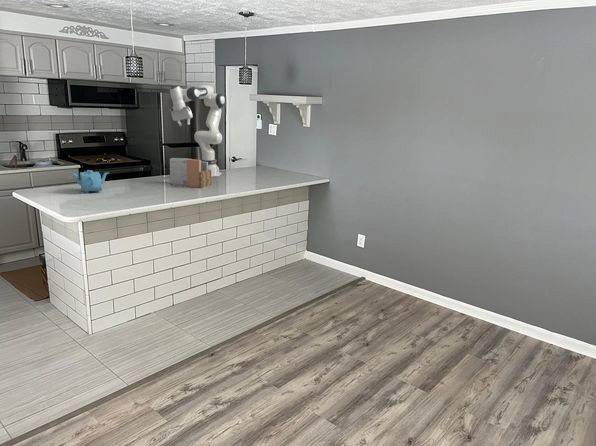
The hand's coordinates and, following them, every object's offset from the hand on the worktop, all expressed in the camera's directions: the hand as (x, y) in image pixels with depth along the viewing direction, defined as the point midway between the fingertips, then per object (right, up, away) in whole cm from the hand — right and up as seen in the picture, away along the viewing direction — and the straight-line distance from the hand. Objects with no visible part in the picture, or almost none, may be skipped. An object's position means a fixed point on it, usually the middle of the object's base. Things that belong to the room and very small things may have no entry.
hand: (184, 125), depth 351 cm
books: (+11, -47, 0) cm, 49 cm away
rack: (+17, -48, -2) cm, 51 cm away
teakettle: (-56, -55, -39) cm, 87 cm away
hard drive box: (-4, -46, +3) cm, 46 cm away
